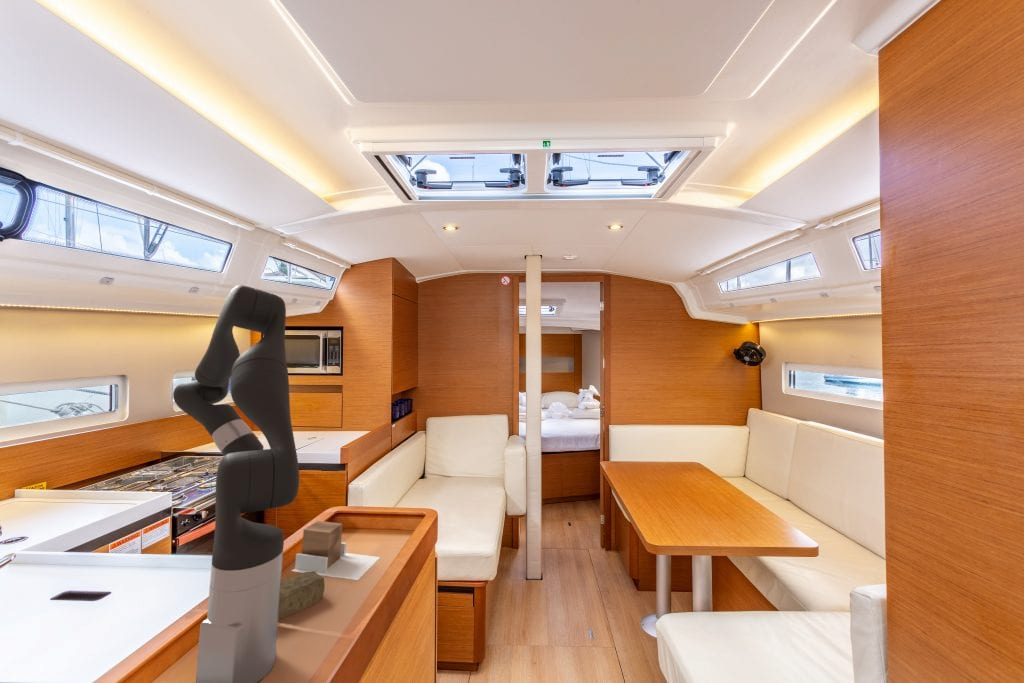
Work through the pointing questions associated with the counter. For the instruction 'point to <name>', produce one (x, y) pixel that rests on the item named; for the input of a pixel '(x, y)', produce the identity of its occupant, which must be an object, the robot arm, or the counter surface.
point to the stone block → (300, 593)
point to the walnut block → (323, 540)
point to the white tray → (336, 564)
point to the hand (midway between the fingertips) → (278, 497)
